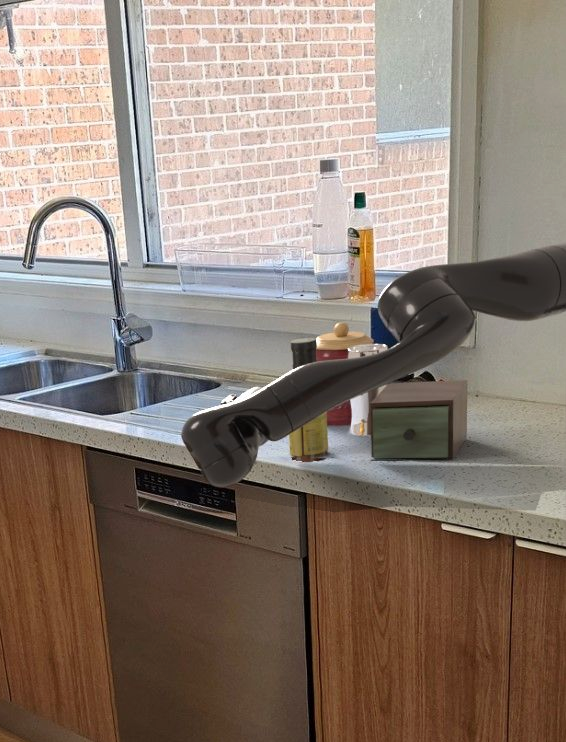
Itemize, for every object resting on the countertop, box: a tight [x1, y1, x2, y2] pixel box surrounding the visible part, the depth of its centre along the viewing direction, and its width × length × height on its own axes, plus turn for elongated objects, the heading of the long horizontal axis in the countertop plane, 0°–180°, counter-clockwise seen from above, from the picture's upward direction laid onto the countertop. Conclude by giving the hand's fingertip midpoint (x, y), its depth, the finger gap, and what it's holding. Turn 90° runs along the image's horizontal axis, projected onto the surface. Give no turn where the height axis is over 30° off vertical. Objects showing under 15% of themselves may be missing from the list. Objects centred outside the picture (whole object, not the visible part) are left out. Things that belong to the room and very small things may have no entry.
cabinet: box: [370, 379, 468, 462], centre depth 198 cm, size 15×13×10 cm
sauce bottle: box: [288, 337, 329, 463], centre depth 198 cm, size 6×6×20 cm
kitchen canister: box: [315, 321, 375, 427], centre depth 222 cm, size 13×13×18 cm
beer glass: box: [347, 343, 388, 437], centre depth 210 cm, size 7×7×15 cm
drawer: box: [373, 405, 449, 460], centre depth 196 cm, size 15×11×8 cm
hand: (283, 394), depth 187 cm, fingers open, 8 cm apart
